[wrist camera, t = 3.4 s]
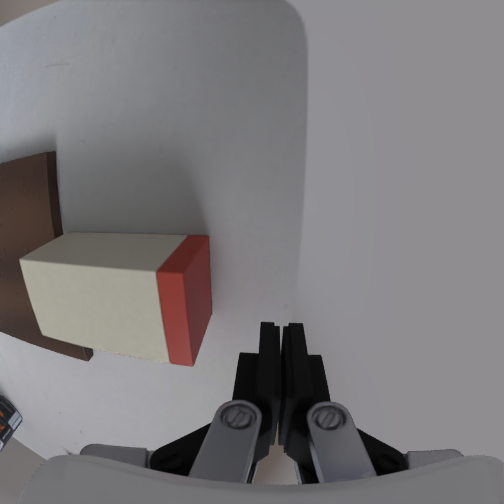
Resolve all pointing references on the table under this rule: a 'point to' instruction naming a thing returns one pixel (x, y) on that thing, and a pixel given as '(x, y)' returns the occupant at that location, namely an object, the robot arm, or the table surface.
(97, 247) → the container
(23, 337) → the board
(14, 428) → the pill bottle
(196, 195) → the table surface
